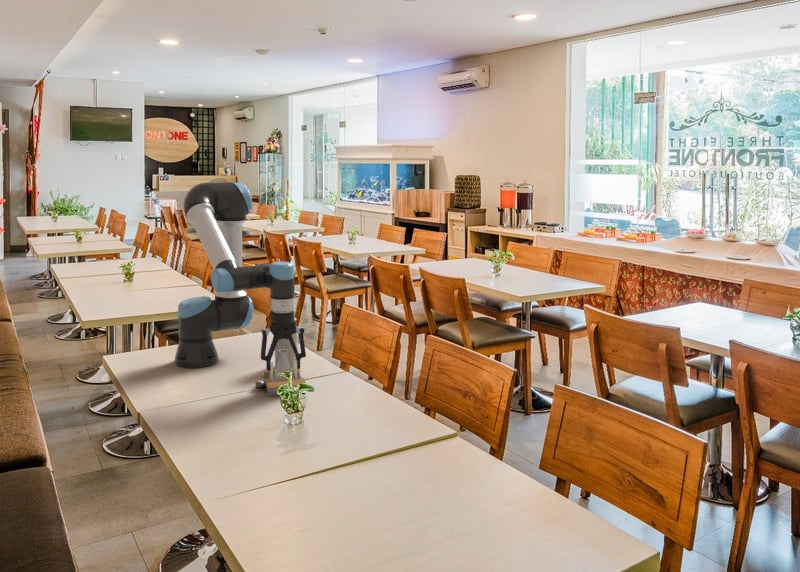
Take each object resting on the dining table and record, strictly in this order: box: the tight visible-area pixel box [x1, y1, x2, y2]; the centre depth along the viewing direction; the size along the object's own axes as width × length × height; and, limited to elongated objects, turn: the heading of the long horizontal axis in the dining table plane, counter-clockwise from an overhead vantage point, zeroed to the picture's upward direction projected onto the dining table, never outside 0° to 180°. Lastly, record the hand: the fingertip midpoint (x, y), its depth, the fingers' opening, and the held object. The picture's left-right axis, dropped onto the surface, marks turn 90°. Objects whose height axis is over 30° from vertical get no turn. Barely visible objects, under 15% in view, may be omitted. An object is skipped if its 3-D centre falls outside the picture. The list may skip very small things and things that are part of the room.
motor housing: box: [255, 368, 306, 398], centre depth 224 cm, size 14×15×4 cm
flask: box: [273, 349, 294, 381], centre depth 224 cm, size 7×7×10 cm
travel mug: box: [274, 317, 299, 369], centre depth 245 cm, size 8×8×18 cm
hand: (283, 379), depth 225 cm, fingers closed on flask, 7 cm apart
